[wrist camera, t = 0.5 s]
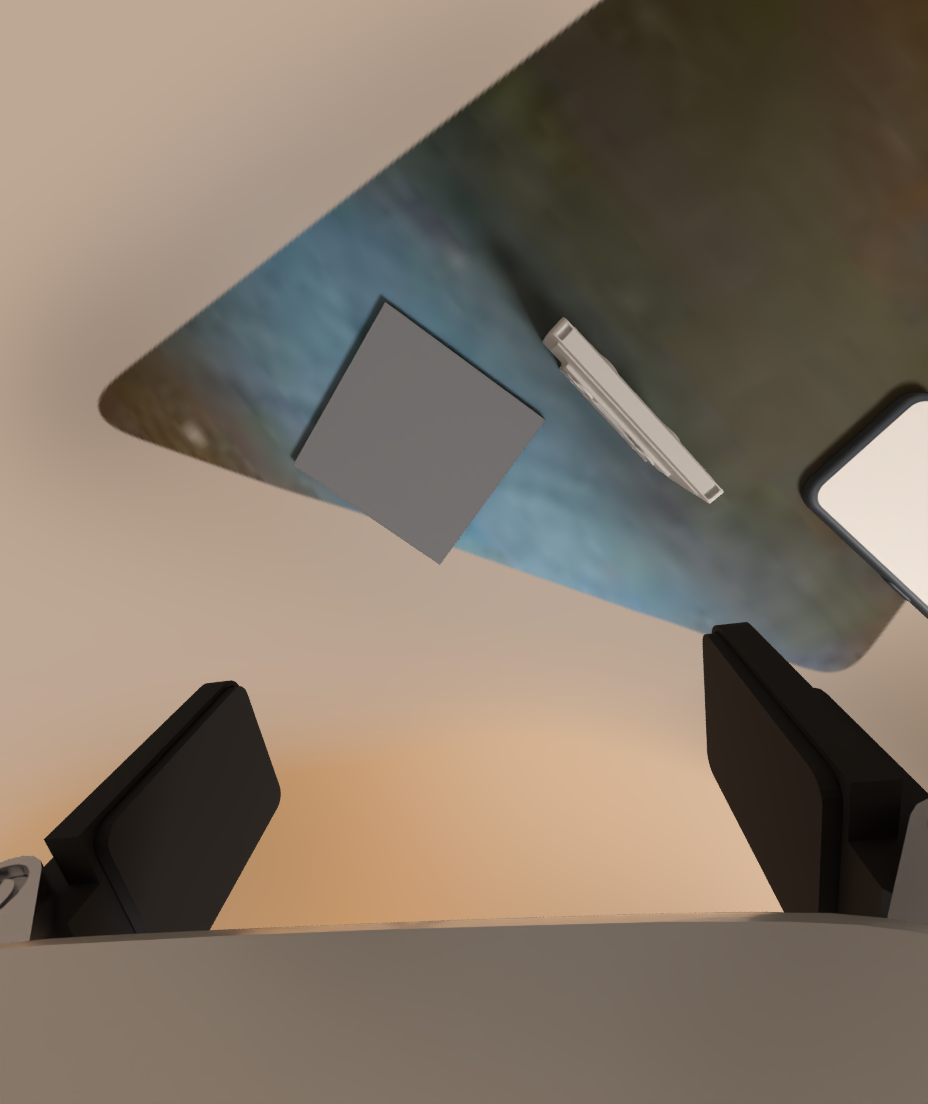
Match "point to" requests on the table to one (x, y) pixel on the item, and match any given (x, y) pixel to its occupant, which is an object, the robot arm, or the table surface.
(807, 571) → the table surface
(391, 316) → the pad
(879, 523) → the phone case
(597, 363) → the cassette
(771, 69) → the table surface
